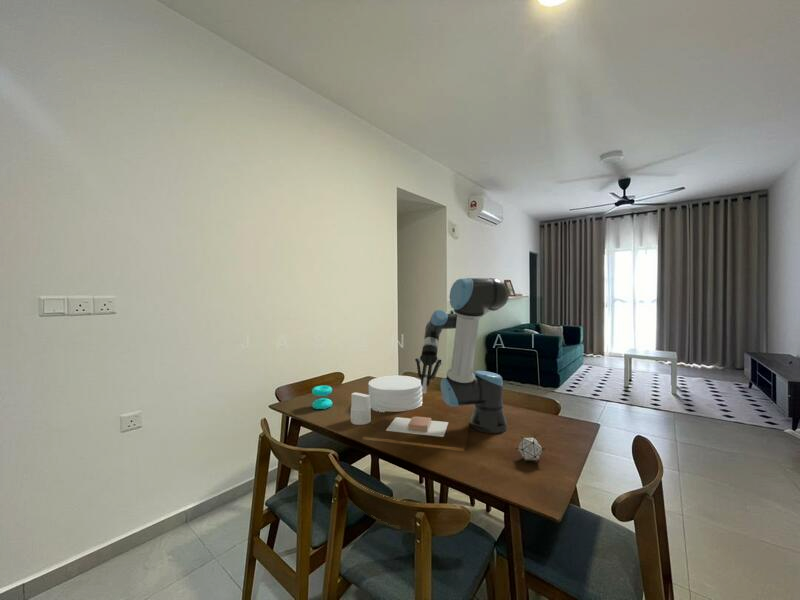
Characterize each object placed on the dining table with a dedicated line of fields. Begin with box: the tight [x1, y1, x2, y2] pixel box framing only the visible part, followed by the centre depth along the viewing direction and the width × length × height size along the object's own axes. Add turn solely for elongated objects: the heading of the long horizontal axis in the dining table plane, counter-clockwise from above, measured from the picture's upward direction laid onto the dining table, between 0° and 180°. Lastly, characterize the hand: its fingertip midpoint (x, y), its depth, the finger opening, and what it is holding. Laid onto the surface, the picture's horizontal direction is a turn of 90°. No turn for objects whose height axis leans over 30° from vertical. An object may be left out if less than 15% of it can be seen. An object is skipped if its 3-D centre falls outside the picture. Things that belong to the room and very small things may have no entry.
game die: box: [514, 434, 546, 463], centre depth 113 cm, size 9×8×10 cm
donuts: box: [311, 385, 333, 410], centre depth 168 cm, size 10×10×10 cm
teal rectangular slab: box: [408, 415, 432, 432], centre depth 140 cm, size 8×2×9 cm
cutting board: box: [385, 416, 449, 438], centre depth 140 cm, size 24×15×1 cm, turn 74°
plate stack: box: [368, 375, 423, 414], centre depth 172 cm, size 28×28×12 cm
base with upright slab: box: [350, 392, 372, 426], centre depth 150 cm, size 9×9×12 cm
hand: (424, 391), depth 148 cm, fingers closed
